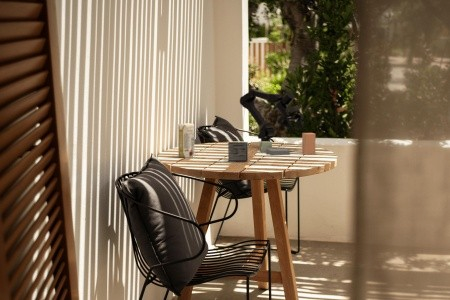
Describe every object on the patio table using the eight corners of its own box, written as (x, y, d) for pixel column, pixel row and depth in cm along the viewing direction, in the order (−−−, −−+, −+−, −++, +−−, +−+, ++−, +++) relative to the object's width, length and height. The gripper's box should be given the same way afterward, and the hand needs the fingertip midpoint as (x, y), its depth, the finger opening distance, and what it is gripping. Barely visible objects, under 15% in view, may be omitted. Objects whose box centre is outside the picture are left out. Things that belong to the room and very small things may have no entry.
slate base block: (265, 153, 467) (266, 148, 467) (283, 153, 470) (283, 148, 470) (271, 156, 457) (272, 151, 456) (289, 155, 460) (289, 150, 459)
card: (290, 150, 479) (290, 149, 479) (303, 149, 481) (303, 149, 481) (295, 151, 472) (295, 151, 472) (307, 151, 474) (307, 150, 474)
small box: (247, 160, 437) (248, 141, 436) (247, 162, 431) (247, 143, 429) (229, 160, 438) (229, 141, 437) (227, 161, 432) (227, 142, 430)
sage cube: (259, 151, 475) (259, 141, 474) (268, 151, 477) (268, 141, 476) (262, 152, 469) (262, 142, 469) (271, 152, 471) (271, 142, 470)
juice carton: (196, 156, 451) (196, 123, 449) (185, 158, 445) (185, 124, 443) (187, 155, 457) (186, 122, 454) (176, 156, 450) (176, 124, 448)
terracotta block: (302, 153, 467) (302, 133, 465) (311, 152, 468) (311, 132, 467) (305, 154, 461) (306, 134, 459) (315, 154, 462) (315, 133, 461)
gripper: (281, 101, 463) (295, 121, 457) (301, 100, 477) (315, 119, 470) (271, 114, 470) (285, 133, 464) (291, 112, 483) (305, 131, 477)
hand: (298, 129), depth 468 cm, fingers open, 9 cm apart
